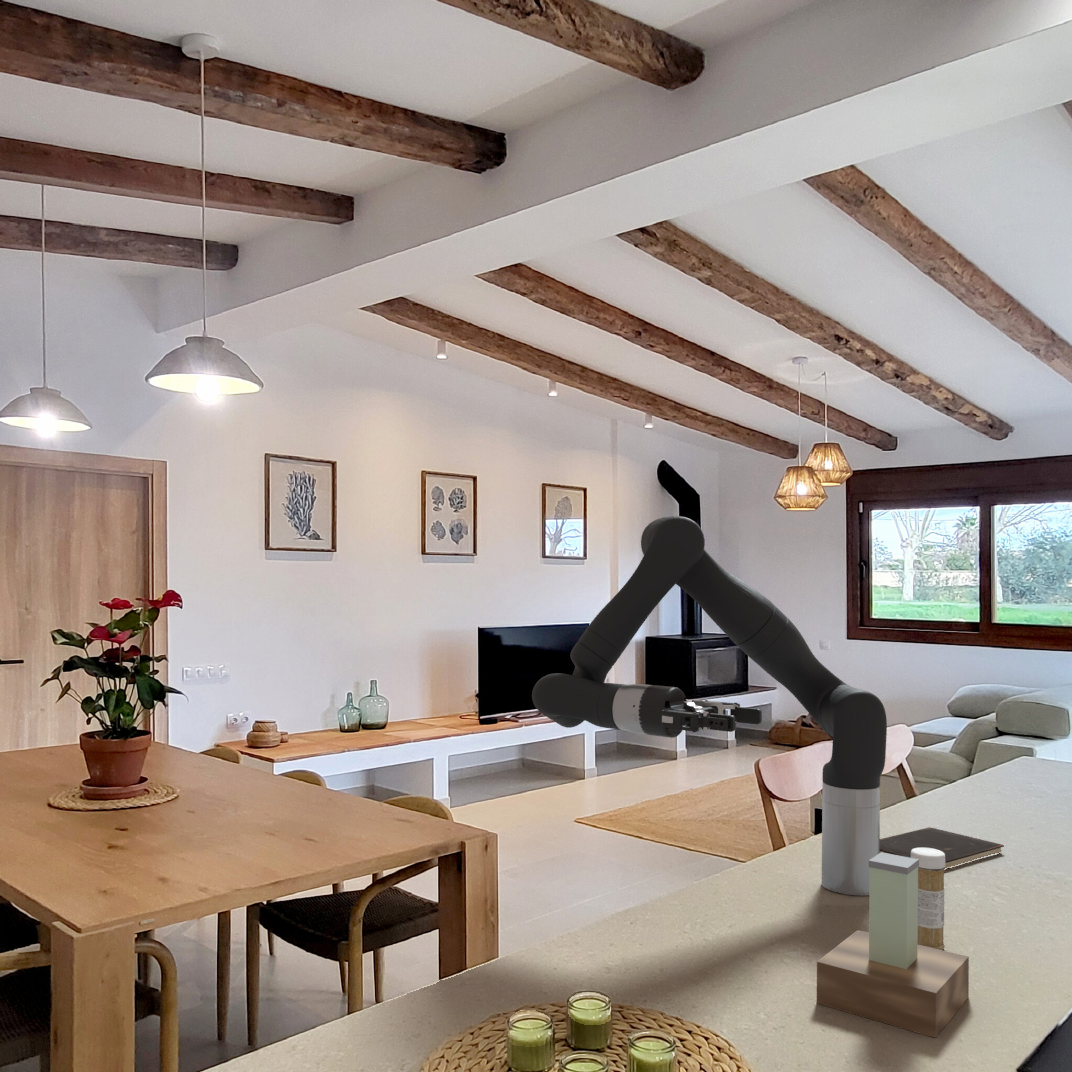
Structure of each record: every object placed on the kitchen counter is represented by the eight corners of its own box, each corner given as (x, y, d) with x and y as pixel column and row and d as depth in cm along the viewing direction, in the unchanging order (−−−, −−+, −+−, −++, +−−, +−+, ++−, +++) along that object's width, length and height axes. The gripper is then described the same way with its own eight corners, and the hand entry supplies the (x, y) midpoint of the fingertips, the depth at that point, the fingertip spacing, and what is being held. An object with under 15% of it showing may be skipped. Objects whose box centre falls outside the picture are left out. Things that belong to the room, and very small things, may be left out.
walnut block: (857, 968, 132) (857, 930, 132) (968, 997, 124) (968, 956, 124) (816, 1003, 121) (816, 961, 121) (935, 1037, 113) (936, 993, 113)
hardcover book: (1003, 857, 188) (1003, 844, 189) (934, 877, 175) (934, 864, 175) (927, 837, 201) (927, 826, 201) (857, 855, 188) (857, 843, 188)
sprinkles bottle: (917, 938, 144) (918, 844, 144) (949, 947, 140) (950, 851, 141) (904, 947, 140) (905, 850, 141) (937, 956, 137) (937, 857, 138)
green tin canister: (880, 948, 126) (880, 852, 126) (918, 957, 123) (919, 859, 124) (867, 960, 122) (868, 860, 123) (907, 969, 119) (907, 867, 120)
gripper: (624, 689, 146) (725, 698, 136) (672, 681, 157) (768, 689, 148) (624, 740, 146) (725, 754, 136) (672, 728, 157) (768, 740, 147)
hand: (748, 720), depth 142 cm, fingers open, 8 cm apart
